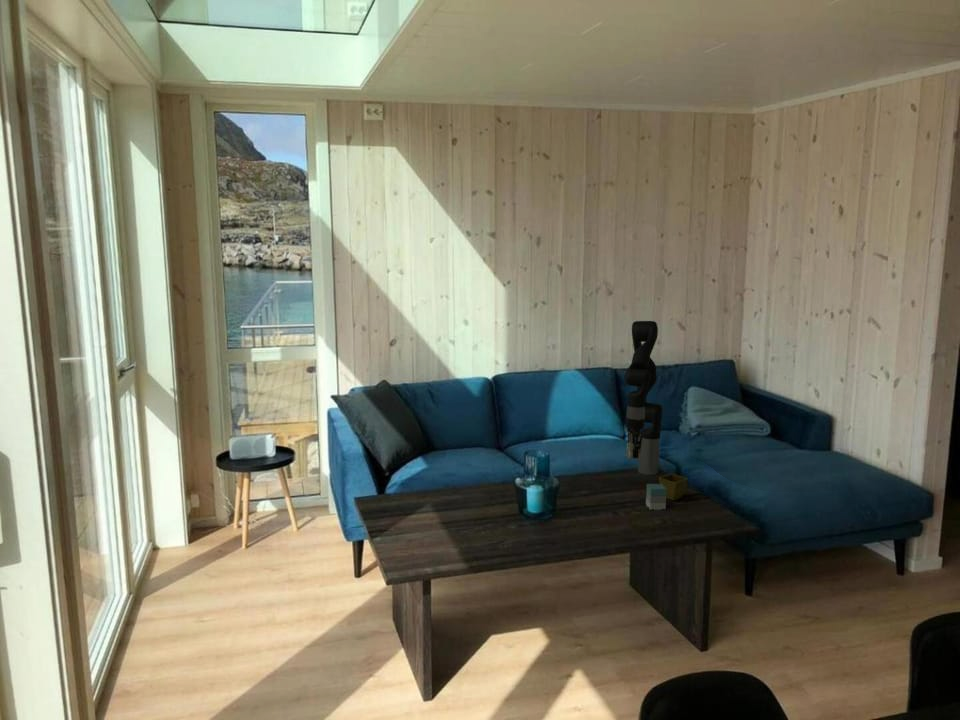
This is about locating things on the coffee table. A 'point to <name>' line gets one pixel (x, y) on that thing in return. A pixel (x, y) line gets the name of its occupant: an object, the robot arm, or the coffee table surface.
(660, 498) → the slab middle
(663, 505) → the slab bottom
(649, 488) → the slab top
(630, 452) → the birch block
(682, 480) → the flower pot
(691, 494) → the coffee table surface
